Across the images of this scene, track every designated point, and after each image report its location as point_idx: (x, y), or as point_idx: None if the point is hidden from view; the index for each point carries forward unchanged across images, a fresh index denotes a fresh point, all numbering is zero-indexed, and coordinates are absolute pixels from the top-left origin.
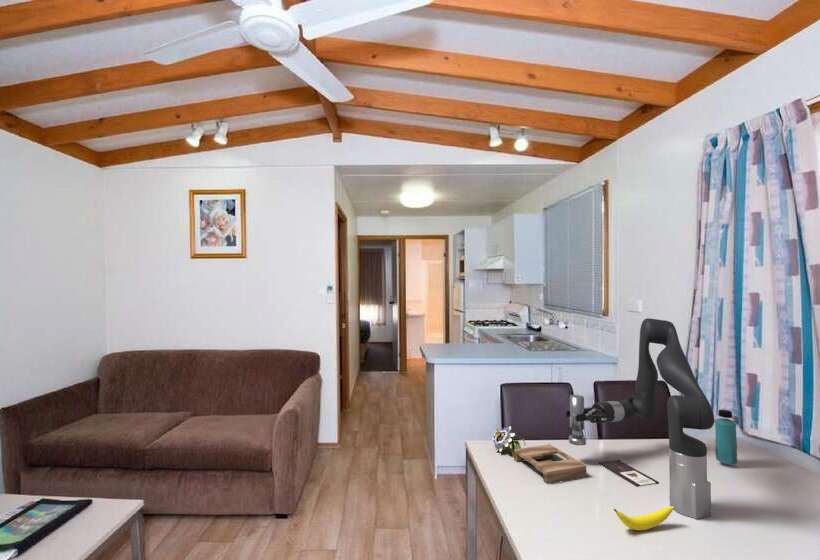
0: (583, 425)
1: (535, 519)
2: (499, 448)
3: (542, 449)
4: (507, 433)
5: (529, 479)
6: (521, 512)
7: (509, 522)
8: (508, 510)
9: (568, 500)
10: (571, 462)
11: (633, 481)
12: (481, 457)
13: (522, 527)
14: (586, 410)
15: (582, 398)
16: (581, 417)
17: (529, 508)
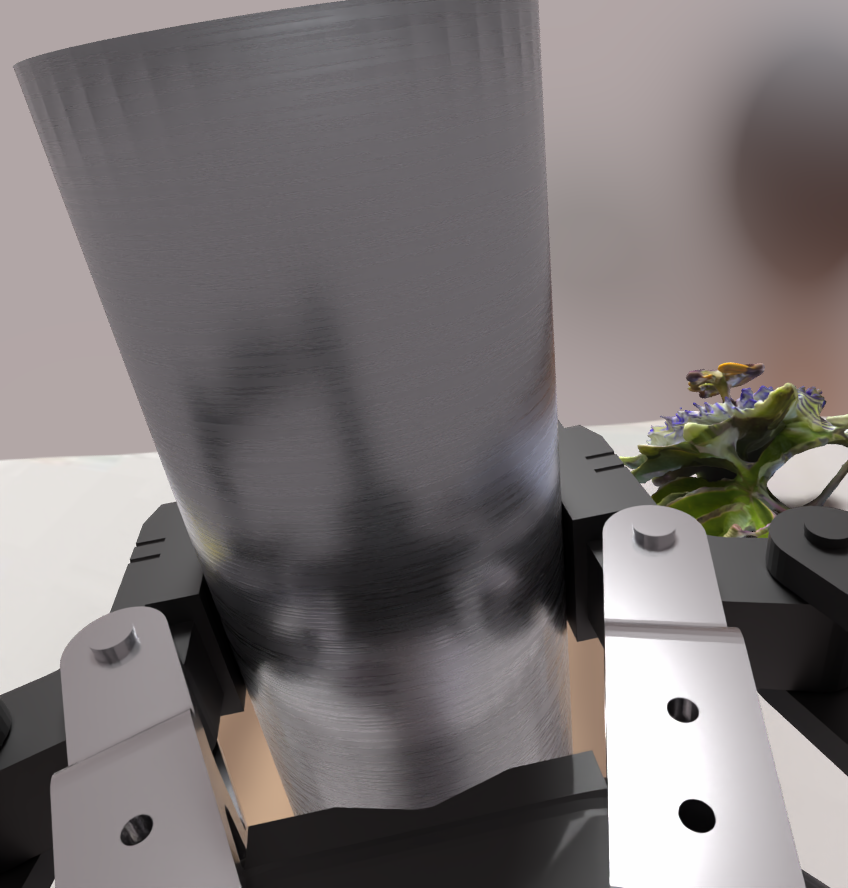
0: (286, 791)
1: (12, 516)
2: (699, 477)
3: (586, 642)
4: (705, 406)
5: None
6: (80, 492)
7: (59, 460)
8: (118, 466)
9: (10, 665)
10: (248, 778)
11: None
12: (610, 437)
13: (10, 481)
14: (545, 848)
15: (22, 82)
16: (143, 548)
17: (82, 515)
